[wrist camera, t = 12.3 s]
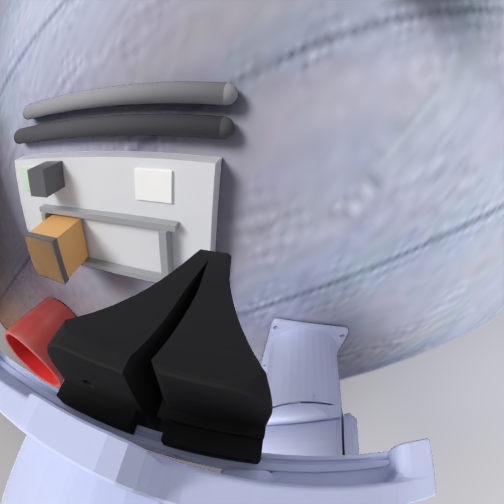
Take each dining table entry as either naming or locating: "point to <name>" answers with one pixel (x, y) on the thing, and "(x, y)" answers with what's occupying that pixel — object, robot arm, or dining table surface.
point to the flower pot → (39, 338)
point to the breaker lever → (57, 247)
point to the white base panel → (127, 205)
